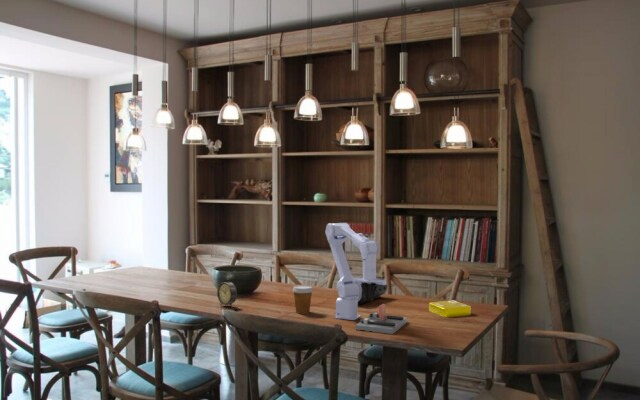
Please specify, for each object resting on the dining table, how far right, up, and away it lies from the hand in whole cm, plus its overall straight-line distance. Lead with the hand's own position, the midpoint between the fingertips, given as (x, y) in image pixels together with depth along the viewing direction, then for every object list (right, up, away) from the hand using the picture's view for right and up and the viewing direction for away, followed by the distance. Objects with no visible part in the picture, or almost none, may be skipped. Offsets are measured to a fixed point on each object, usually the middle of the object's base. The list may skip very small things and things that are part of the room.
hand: (369, 300), depth 248 cm
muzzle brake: (+3, -9, +50) cm, 50 cm away
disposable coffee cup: (-29, -10, +24) cm, 39 cm away
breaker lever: (+5, -8, -2) cm, 9 cm away
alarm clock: (-67, -9, +36) cm, 76 cm away
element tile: (+40, -11, +24) cm, 48 cm away
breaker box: (+5, -11, -2) cm, 12 cm away
